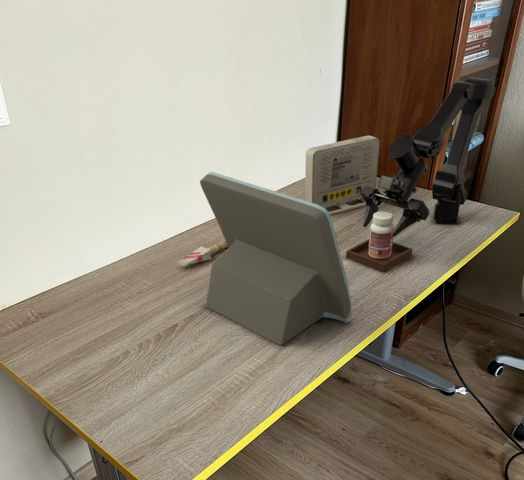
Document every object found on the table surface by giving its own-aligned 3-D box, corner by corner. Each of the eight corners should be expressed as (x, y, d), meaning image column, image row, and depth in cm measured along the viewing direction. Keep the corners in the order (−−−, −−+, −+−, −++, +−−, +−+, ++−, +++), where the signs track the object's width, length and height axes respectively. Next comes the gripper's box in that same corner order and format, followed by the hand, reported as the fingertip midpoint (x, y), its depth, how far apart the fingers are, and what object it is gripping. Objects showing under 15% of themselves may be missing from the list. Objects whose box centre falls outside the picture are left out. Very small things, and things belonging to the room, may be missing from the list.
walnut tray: (374, 242, 158) (375, 235, 157) (411, 255, 151) (412, 248, 150) (346, 258, 151) (346, 250, 150) (383, 272, 144) (384, 264, 143)
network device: (363, 193, 190) (367, 133, 179) (380, 201, 184) (385, 139, 172) (301, 210, 180) (301, 147, 168) (316, 218, 174) (318, 153, 162)
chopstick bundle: (174, 257, 148) (227, 235, 160) (175, 266, 149) (227, 244, 162) (184, 261, 146) (236, 238, 158) (185, 270, 147) (237, 247, 160)
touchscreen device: (355, 318, 126) (362, 190, 108) (298, 358, 116) (296, 224, 98) (249, 270, 147) (239, 156, 129) (192, 301, 136) (173, 181, 118)
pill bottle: (393, 258, 149) (398, 218, 142) (371, 260, 148) (375, 220, 142) (387, 248, 154) (391, 209, 147) (365, 250, 153) (368, 211, 147)
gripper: (367, 155, 144) (337, 207, 145) (429, 169, 133) (397, 226, 134) (382, 177, 153) (354, 227, 154) (442, 193, 142) (412, 246, 143)
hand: (378, 231), depth 146 cm, fingers open, 9 cm apart
